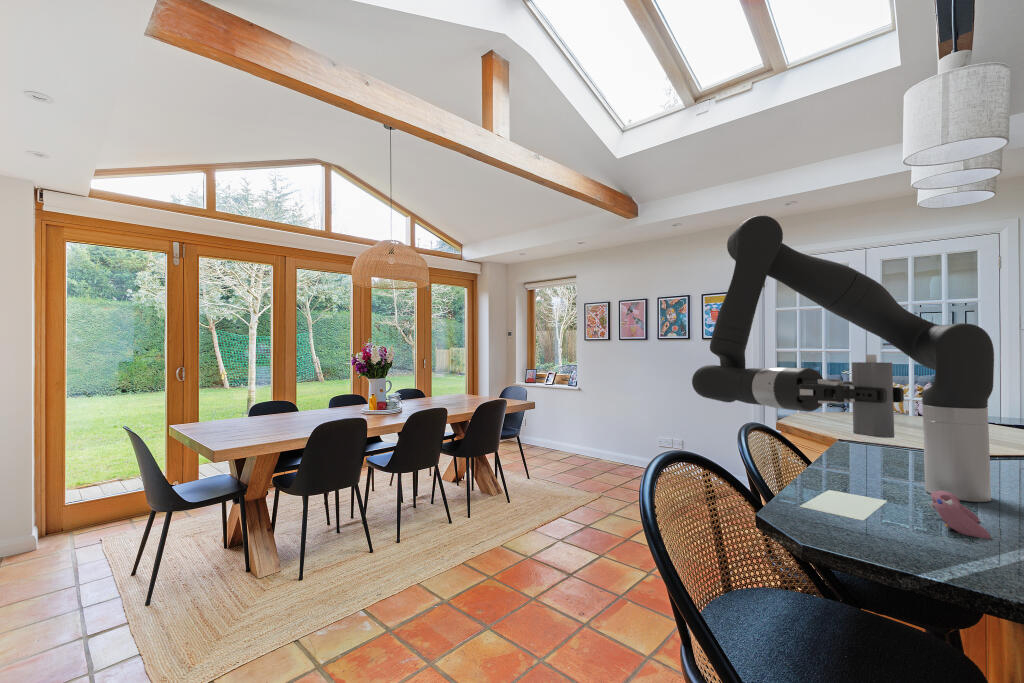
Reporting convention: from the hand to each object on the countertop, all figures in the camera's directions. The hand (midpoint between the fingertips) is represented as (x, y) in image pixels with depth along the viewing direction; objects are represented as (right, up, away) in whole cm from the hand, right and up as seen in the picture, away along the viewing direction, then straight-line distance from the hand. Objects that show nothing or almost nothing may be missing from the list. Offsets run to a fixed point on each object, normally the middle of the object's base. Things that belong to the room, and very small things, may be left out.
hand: (893, 395), depth 67 cm
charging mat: (+2, -22, +13) cm, 25 cm away
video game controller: (+12, -21, +3) cm, 25 cm away
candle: (-1, -6, +2) cm, 7 cm away
